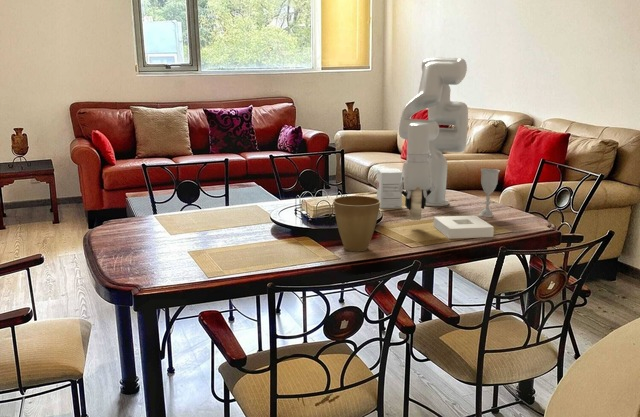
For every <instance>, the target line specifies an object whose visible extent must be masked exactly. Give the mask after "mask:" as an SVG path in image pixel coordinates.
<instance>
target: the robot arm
mask: <svg viewBox="0 0 640 417" xmlns="http://www.w3.org/2000/svg"><path fill="white" fill-rule="evenodd" d="M467 65H468V64H467V62H466V60H465V59H464V58H463V57H461V58H460V57H428V58H425V59H424V60H422V63H421V71H422V72H421V77H420V81H419V87H418V91H417V92H418V93H417V95H415V96H414V97H413V98H411V99H410V100H409V101H408V102H407V104H405V106H404V107H403V109H402V112H401V115H400V120H399V124H398V135H399V137H400V138H401V139H402V140H406V141H407V143H406V146H407V147H406V160H405V161H404V162H403V166H402V169H401V172H402V176H401V183H400V184H399V186H398V187H397V190H398V191H399V192H400V193H402V196H403V197H405V202H404V204H405V205H404V206H405V208H406V209H407V210H408V211H409V210H410V209H411V199H410V195H411V191H412V190H416V188H417V187H420V190H422V208H421V210H425V207H426V206H428V207H445V206H448V205H449V203H450V202H449V200H448V199H447V198H446V196H447V195H446V194H447V191H446V190H447V178H448V161H447V158H446V156H445V155H444V154H443V153H444V152H445V153H448V152H449V153H463V152H464V151H465V149H466V148H467V141H468V140H467V139H468V126H469V123H468V122H469V109H468V105H467V104H466V103H465V102H464V101H463V102H462V101H451V87H450V86H451V85H453V86H455V85H456V86H457V85H459V84H461V83H462V82H463V80H464V79H465V77H466V75H467V71H468V66H467ZM426 109H427V119H419V118H418V119H417V118H412V117H413V115H415V114H416V113H419V112H420V111H423V110H426ZM441 125H443V126H453V127H455V128H449V127H440V126H441Z"/></svg>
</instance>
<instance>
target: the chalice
mask: <svg viewBox="0 0 640 417" xmlns="http://www.w3.org/2000/svg"><path fill="white" fill-rule="evenodd" d="M500 171H501V170H500V169H498V168H486V167H485V168H480V172H481V176H480V177H481V178H480V184H481V187H482V190H483V192H484V194H486V197H485V200H486V202H485V208H484V209H482V211H481V212H480V213H479V216H480V217H484V218H492V217H494V214H493V210H491V209H490V208H489V205H491V203H490V200H491V198H490V195H492V194H493V193H494V191H495V190H496V188H497V185H498V182H499V181H498V180H499V173H500Z"/></svg>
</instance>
